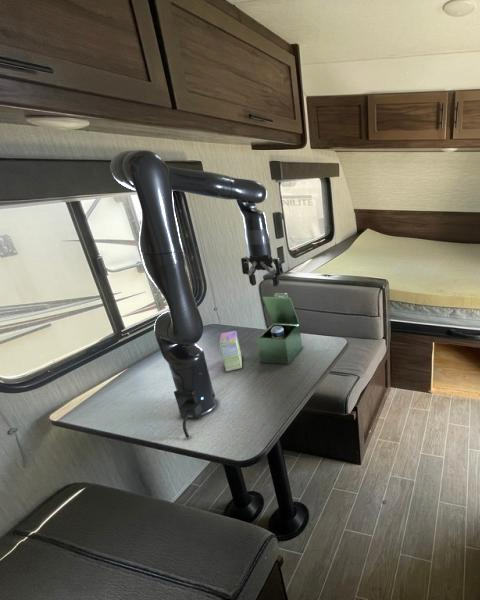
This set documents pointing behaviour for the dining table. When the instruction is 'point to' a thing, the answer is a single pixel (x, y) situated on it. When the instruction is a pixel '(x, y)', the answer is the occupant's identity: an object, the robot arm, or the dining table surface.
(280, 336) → the beer can
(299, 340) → the trash bin
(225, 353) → the box
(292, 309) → the bin lid
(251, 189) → the robot arm
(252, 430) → the dining table surface
